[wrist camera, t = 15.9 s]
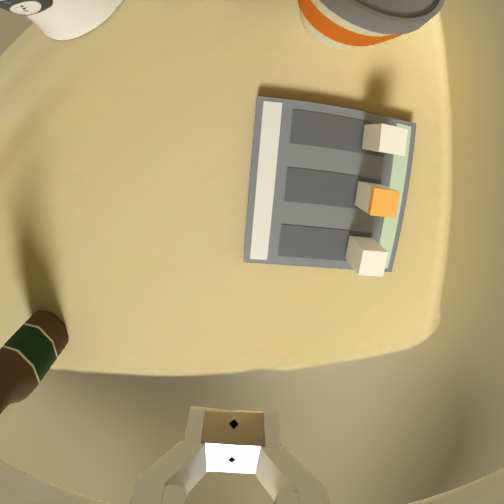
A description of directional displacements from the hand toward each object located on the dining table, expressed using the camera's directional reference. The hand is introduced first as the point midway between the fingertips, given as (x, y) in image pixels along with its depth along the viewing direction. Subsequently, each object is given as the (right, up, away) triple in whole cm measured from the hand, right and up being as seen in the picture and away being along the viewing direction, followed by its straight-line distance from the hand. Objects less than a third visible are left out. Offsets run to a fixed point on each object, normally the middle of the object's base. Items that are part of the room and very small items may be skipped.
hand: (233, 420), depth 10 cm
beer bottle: (-32, -7, +33) cm, 46 cm away
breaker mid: (+14, +12, +25) cm, 31 cm away
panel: (+10, +13, +26) cm, 31 cm away
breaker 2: (+13, +6, +27) cm, 31 cm away
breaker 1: (+14, +19, +22) cm, 32 cm away
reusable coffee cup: (+11, +34, +19) cm, 40 cm away
